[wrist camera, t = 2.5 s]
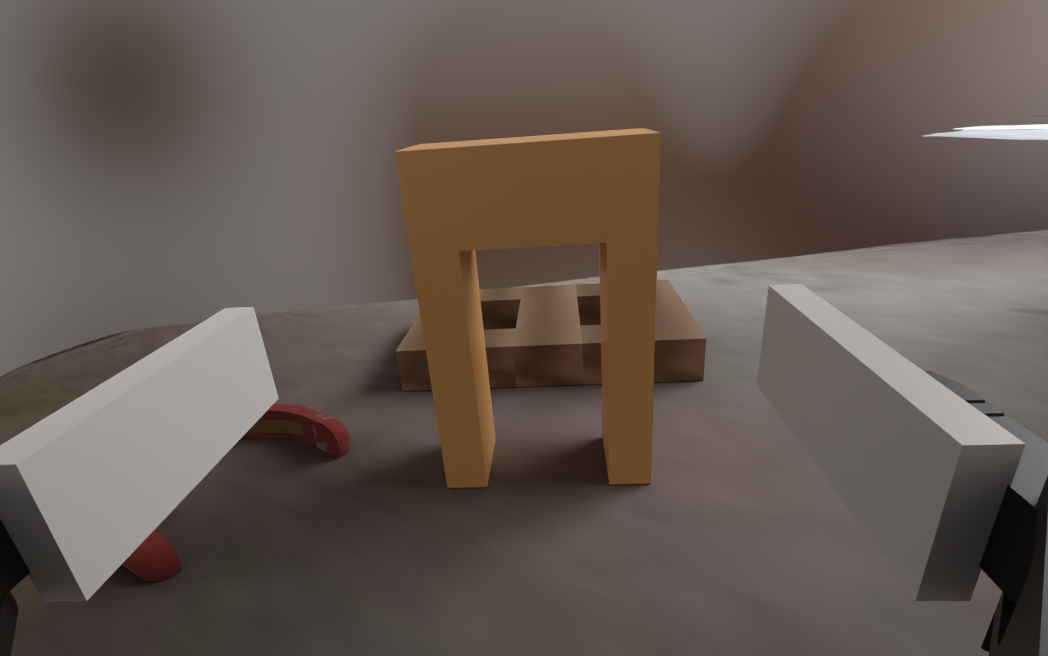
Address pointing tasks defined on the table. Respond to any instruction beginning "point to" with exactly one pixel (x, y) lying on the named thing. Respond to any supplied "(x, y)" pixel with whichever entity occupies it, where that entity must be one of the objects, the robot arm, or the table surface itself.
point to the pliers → (277, 422)
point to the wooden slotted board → (560, 338)
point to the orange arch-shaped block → (530, 221)
